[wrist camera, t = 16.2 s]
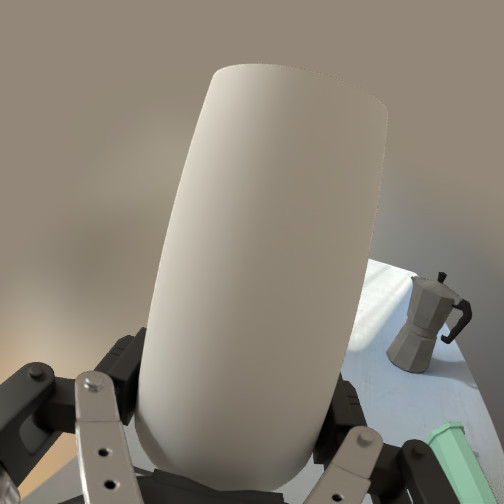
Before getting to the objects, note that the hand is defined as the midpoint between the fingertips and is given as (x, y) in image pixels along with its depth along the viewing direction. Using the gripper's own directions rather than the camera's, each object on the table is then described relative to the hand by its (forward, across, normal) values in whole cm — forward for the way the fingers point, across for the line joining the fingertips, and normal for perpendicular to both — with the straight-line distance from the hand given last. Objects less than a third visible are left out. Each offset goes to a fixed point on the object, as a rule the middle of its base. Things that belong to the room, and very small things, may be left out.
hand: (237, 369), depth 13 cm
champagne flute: (-2, 0, -14) cm, 14 cm away
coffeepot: (+36, +33, -19) cm, 52 cm away
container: (+1, +28, -20) cm, 34 cm away
